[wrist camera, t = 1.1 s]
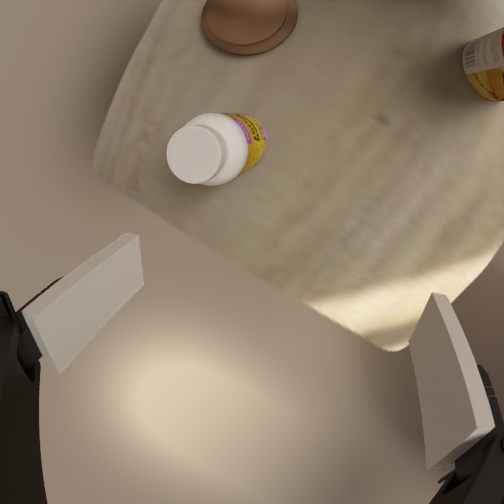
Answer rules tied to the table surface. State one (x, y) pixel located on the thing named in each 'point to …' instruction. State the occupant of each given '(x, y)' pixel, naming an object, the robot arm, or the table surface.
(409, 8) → the table surface
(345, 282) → the table surface
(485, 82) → the canned food
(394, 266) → the table surface
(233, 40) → the plinth
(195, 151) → the supplement bottle
